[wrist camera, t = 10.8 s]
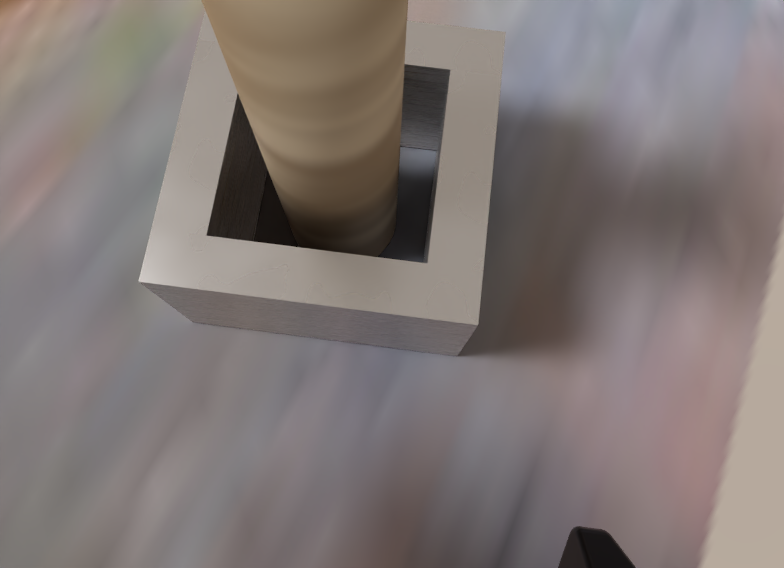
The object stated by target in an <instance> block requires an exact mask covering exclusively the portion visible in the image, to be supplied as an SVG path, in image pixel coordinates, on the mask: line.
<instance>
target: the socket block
mask: <svg viewBox="0 0 784 568" xmlns="http://www.w3.org/2000/svg"><path fill="white" fill-rule="evenodd" d="M505 33H506V32H500V31H491V30H483V29H474V28H466V27H457V26H449V25H440V24H432V23H424V22H415V21H407V28H406V46H405V65H404V84H403V102H402V121H401V139H400V146H406V147H414V148H422V149H431V150H437V152H436V161H435V169H434V177H433V185H432V194H431V202H430V210H429V219H428V227H427V235H426V244H425V252H424V260H423V263H420V262H412V261H404V260H396V259H388V258H380V257H372V256H364V255H356V254H348V253H340V252H332V251H324V250H317V249H309V248H301V247H293V246H285V245H277V244H269V243H261V242H254V237H255V232H256V227H257V222H258V217H259V212H260V207H261V202H262V197H263V192H264V187H265V182H266V177H267V172H268V169H267V166H266V164H265V161H264V159H263V156H262V153H261V151H260V148H259V146H258V143H257V141H256V138H255V136H254V133H253V130H252V128H251V125H250V123H249V120H248V118H247V115H246V113H245V110H244V107H243V105H242V102H241V100H240V97H239V95H238V92H237V90H236V87H235V84H234V82H233V79H232V77H231V74H230V72H229V69H228V67H227V64H226V61H225V59H224V56H223V54H222V51H221V49H220V46H219V44H218V41H217V38H216V36H215V33H214V31H213V28H212V26H211V23H210V21H209V18H208V15H207V13H206V10H205V13H204V17H203V21H202V25H201V29H200V33H199V38H198V42H197V46H196V50H195V54H194V58H193V62H192V66H191V70H190V74H189V78H188V82H187V86H186V90H185V95H184V99H183V103H182V107H181V111H180V115H179V119H178V123H177V127H176V131H175V135H174V139H173V143H172V147H171V152H170V156H169V160H168V164H167V168H166V172H165V176H164V180H163V184H162V188H161V192H160V196H159V200H158V204H157V209H156V213H155V217H154V221H153V225H152V229H151V233H150V237H149V241H148V245H147V249H146V253H145V257H144V261H143V266H142V270H141V274H140V278H139V282H140V283H141V284H142V285H144V286H145V287H146V288H148V289H149V290H150V291H152V292H153V293H154V294H156V295H157V296H158V297H160V298H161V299H162V300H164V301H165V302H166V303H168V304H169V305H170V306H172V307H173V308H175V309H176V310H177V311H179V312H180V313H181V314H183V315H184V316H185V317H187V318H188V319H189V320H191V321H192V322H195V323H203V324H211V325H219V326H226V327H234V328H242V329H250V330H257V331H265V332H273V333H281V334H288V335H296V336H304V337H311V338H319V339H327V340H335V341H342V342H350V343H358V344H366V345H373V346H381V347H389V348H397V349H404V350H412V351H420V352H428V353H435V354H443V355H451V356H457V355H458V354H459V353H460V351H461V350H462V348H463V347H464V345H465V344H466V342H467V341H468V339H469V338H470V336H471V335H472V334H473V332H474V331H475V329H476V328H477V326H478V322H479V312H480V301H481V290H482V279H483V269H484V258H485V247H486V237H487V226H488V215H489V204H490V194H491V183H492V172H493V162H494V151H495V140H496V129H497V119H498V108H499V97H500V87H501V76H502V65H503V54H504V44H505Z"/></svg>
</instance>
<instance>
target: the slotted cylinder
mask: <svg viewBox="0 0 784 568" xmlns="http://www.w3.org/2000/svg"><path fill="white" fill-rule="evenodd" d="M202 3H203V5H204V8H205V10H206V13H207V15H208V18H209V21H210V23H211V26H212V28H213V31H214V33H215V36H216V38H217V41H218V44H219V46H220V49H221V51H222V54H223V56H224V59H225V61H226V64H227V67H228V69H229V72H230V74H231V77H232V79H233V82H234V84H235V87H236V90H237V92H238V95H239V97H240V100H241V102H242V105H243V107H244V110H245V113H246V115H247V118H248V120H249V123H250V125H251V128H252V130H253V133H254V136H255V138H256V141H257V143H258V146H259V148H260V151H261V153H262V156H263V159H264V161H265V164H266V166H267V169H268V171H269V174H270V176H271V179H272V182H273V184H274V187H275V189H276V192H277V194H278V197H279V199H280V202H281V205H282V207H283V210H284V212H285V215H286V217H287V220H288V222H289V225H290V228H291V230H292V233H293V235H294V238H295V240H296V242H297V244H298V245H299V247H301V248H309V249H317V250H324V251H332V252H340V253H348V254H356V255H364V256H372V257H377V256H378V255H379V254H381V253H382V252H383V251H384V249H385V248H386V247H387V246H388V244H389V243H390V241H391V239H392V237H393V234H394V231H395V226H396V214H397V195H398V177H399V158H400V139H401V121H402V102H403V84H404V65H405V46H406V28H407V9H408V0H202Z"/></svg>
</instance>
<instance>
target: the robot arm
mask: <svg viewBox="0 0 784 568" xmlns="http://www.w3.org/2000/svg"><path fill="white" fill-rule="evenodd" d="M558 568H636V567H635V566H634V565H633V563H632V562H631V561H630V559H629V558H628V557H627V556H626V554H625V553H624V552H623V550H622V549H621V548H620V546H619V545H618V544H617V543H616V541H615V540H614V539H613V537H612V536H611V535H610V534H609V533H608V532H606V531H605V530H602V529H596V528H588V527H581V526H577V527H574V528H573V529H572V531H571V532H570V535H569V537H568V540H567V543H566V546H565V549H564V552H563V555H562V558H561V561H560V564H559V567H558Z"/></svg>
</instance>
